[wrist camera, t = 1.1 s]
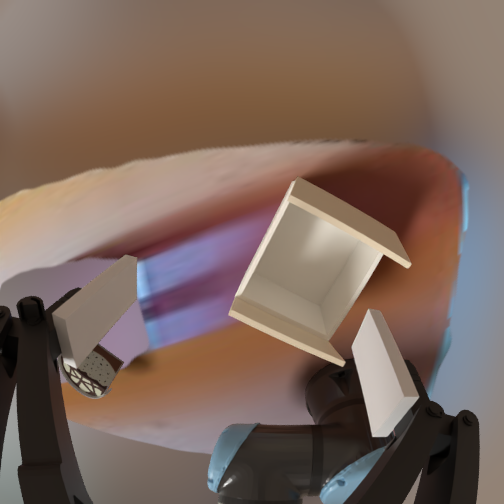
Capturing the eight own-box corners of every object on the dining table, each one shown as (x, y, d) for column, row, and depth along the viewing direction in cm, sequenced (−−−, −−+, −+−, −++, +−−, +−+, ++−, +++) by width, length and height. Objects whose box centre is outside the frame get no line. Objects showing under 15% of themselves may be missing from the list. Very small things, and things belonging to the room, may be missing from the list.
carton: (369, 224, 40) (393, 236, 30) (320, 308, 44) (328, 341, 34) (292, 181, 40) (294, 180, 30) (246, 271, 44) (234, 296, 34)
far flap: (345, 361, 27) (342, 366, 27) (327, 340, 34) (325, 344, 34) (231, 309, 27) (228, 314, 27) (235, 296, 34) (233, 301, 34)
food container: (79, 350, 53) (53, 373, 43) (83, 332, 51) (55, 354, 42) (123, 382, 53) (101, 410, 44) (130, 366, 52) (106, 394, 42)
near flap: (392, 236, 30) (395, 232, 30) (408, 268, 24) (411, 263, 24) (295, 181, 30) (297, 176, 30) (287, 200, 24) (290, 194, 23)
